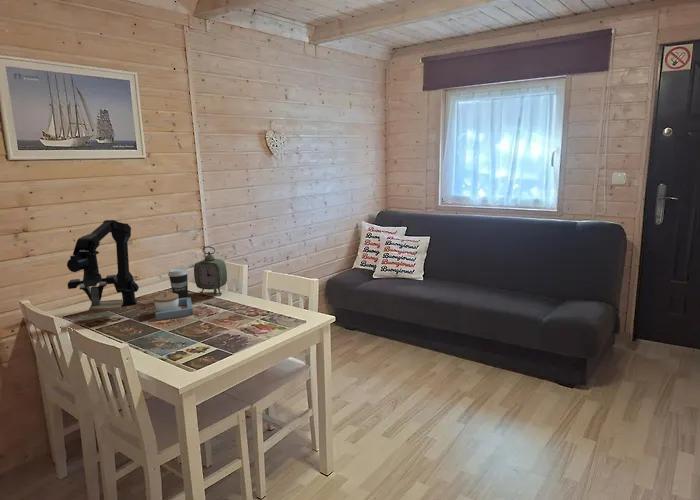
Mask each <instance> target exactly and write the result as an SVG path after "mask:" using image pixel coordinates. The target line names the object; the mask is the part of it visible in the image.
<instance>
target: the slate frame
mask: <svg viewBox="0 0 700 500" xmlns="http://www.w3.org/2000/svg"><path fill="white" fill-rule="evenodd" d="M181 306H186V307H185V308H177V309H176V310H170V311H163V312H158V311H156V312H155V313H154V314H155V321H161V320H168V319H174V318H175V319H176V318H181V317H188V316H189V317H190V316H194V312H193V311H194V310H193V304H192V297H191V296H188V297H187V298H180V299H179V305H178V307H181Z"/></svg>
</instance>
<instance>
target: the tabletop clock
mask: <svg viewBox="0 0 700 500" xmlns="http://www.w3.org/2000/svg"><path fill="white" fill-rule="evenodd" d="M208 248H209V249H212V250H213V252H210V251H207V252H205V251H204V250H205V249H208ZM202 252H203V254H205V256H204V259H203V260H202V259H201V261H200V260H199V261H198V262H196V263H194V267H193V277H194V282H195V285H196V287H197V288H198V289H201V291H199V294H200V295H203V293H204V290H213V292H214V293H217V290H218V296H222V292H221V290H220V288H221V287H223V286H225V285H227V282H228V272H227V271H228V270H227V265H226V261H224V260H223V259H220V258H219V259H218V258H215V256H214V255H213V254H215V253H216V249H215V248H214V247H213V246H209V245H207V246H204V247H203V248H202Z"/></svg>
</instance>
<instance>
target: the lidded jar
mask: <svg viewBox="0 0 700 500" xmlns="http://www.w3.org/2000/svg"><path fill="white" fill-rule="evenodd" d="M178 297H179V296H178V294H176V293H173V292H170V293H169V292H164V293H162V294H158V295H156V296H154V297H153V303H154V308H155V309H156V312H163V311H170V310H177V309H179V306H178V305H179V298H178Z"/></svg>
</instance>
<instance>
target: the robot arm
mask: <svg viewBox="0 0 700 500" xmlns="http://www.w3.org/2000/svg"><path fill="white" fill-rule="evenodd" d="M110 233H111V237H112V239H113V240H114V242H115V248H116V263H117V265H116V266H117V273H116V274H110V275H106V277H104V278H103V277H102V275H101V273H100V271H99V263H98V257H97V255H99V254H100V252H99V251H98V250H97V249H98V247H100V244H101V243H100V242H101V240H103V239H104V238H105V237H106V236H107V235H108V234H110ZM131 235H132V227H131V226H130V224H129V223H125V222H120V221H118V220H115V219H106V220H104V221H103V222H102V224H100V225H99V226H98V227H96V228H95V229H94V230H93V231H92V232H91V233H89V234H85V235H83V236H81V237H79V238H78V239H77V240H76V243H75V245H74V250H73V252H72V255H70V256H69V258H70V259H69V260H67V262H66V266H67V268H68V270H69V271H70V272H72V273H77V272H80V271H83V275H82V280H80V278H75V279H73V278H72V279H70V280H69V281H68V282H67V289H68V290H72V289H77V288H78V287H79V290H81V291H83V292H84V293H85V294H86V295H87V297H88V299H89V301H90V302H91V289H90V288H91V287H95V286H97V285H98V287H99V299H100V301H102V296H103V292H104V288H105V287H107V285H114V286H113V287H114V289H115V290H116V293H121V297H122V302H123V303H122V305H125V306H132V305H136V304H137V302H138V299H136V294H135V293H137V292H138V291H139V285H138V284H137V283H136V282H135V281H134V280H135V279H134V276H133V275H132V273H131V271H130V265H129V263H130V262H129V248H128V247H129V246H128V245H129V244H128V241H129V240H130V238H131Z"/></svg>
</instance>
